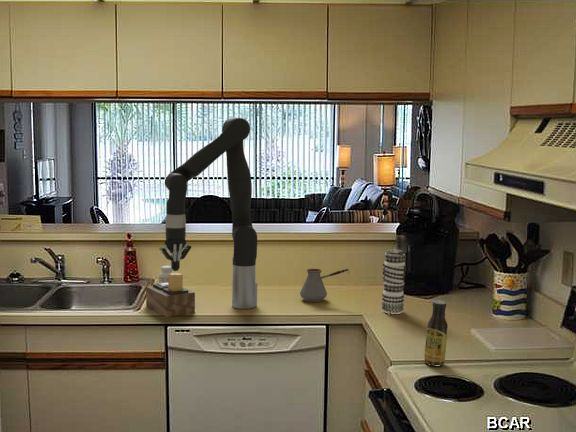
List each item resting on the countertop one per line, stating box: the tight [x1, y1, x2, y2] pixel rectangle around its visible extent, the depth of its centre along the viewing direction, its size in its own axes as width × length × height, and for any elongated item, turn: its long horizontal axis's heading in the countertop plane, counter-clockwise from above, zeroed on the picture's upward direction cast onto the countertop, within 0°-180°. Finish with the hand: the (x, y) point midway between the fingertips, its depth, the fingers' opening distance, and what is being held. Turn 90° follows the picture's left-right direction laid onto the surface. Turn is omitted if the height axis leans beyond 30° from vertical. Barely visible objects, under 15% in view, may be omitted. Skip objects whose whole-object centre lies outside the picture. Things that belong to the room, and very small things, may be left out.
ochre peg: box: [168, 272, 184, 291], centre depth 257 cm, size 4×4×8 cm
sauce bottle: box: [423, 300, 449, 366], centre depth 206 cm, size 6×6×20 cm
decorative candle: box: [381, 248, 407, 313], centre depth 264 cm, size 9×9×25 cm
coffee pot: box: [299, 268, 351, 303], centre depth 279 cm, size 21×12×15 cm, turn 65°
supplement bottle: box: [158, 265, 174, 283], centre depth 281 cm, size 7×7×13 cm
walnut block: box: [145, 282, 196, 318], centre depth 261 cm, size 12×18×9 cm, turn 36°
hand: (175, 270), depth 256 cm, fingers closed
